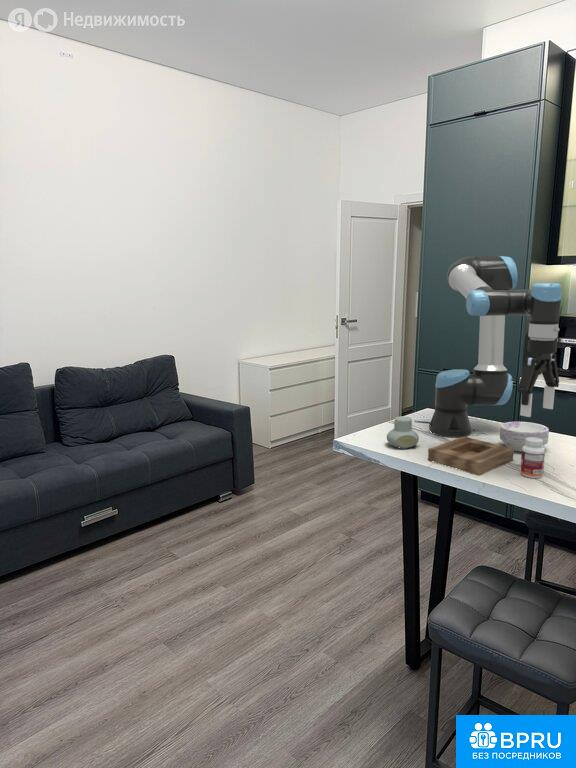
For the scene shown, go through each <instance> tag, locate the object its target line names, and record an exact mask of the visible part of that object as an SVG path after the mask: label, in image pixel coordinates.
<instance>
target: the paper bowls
mask: <svg viewBox="0 0 576 768" xmlns="http://www.w3.org/2000/svg"><path fill="white" fill-rule="evenodd" d="M549 433H550V429H549V427H547V426H545V425H543V424H540V423H535V422H530V421H529V422H527V421H508V422H503V423H501V424H500V425H499V439H500V440H501V442H503V443H504V444H505V447H510V448H514V452H519V453H522V447H523V446H524V445H526V443H525V440H526V438H528V437H535V438H540V439H542V440H543V445H542V446H545V445H547V444H548V442H549Z"/></svg>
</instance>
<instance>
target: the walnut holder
mask: <svg viewBox="0 0 576 768" xmlns="http://www.w3.org/2000/svg"><path fill="white" fill-rule="evenodd" d="M514 452H515V451H514V448H510V447H507V446H506V445H500V444H497V443H494V442H489V441H484V440H480V439H477V438H473V437H468V436H463V437H457V438H455V439H452V440H449V441H447V442H444V443H443V442H442V443H440V444H438V445H434V446H432V447H429V448H428V457H427V461H428V460H430V462H432V461H434V462H433V463H435V462H436V463H435V464H438V463H439V465H442V464H443V465H442V466H445V465H446V466H445V467H448V466H450V467H449V468H452V467H453V468H452V469H455V468H457V469H456V470H459V469H460V470H459V471H462V470H463V471H462V472H465V471H466V473H470V474H472V475H475V474H476V476H481V475H484V474H485V473H488V472H491V471H493V470H495V469H497V468H499V467H501V466H503V465H506V464H509V463H510V462H513V461H514V454H515V453H514Z"/></svg>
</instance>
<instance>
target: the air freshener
mask: <svg viewBox="0 0 576 768" xmlns="http://www.w3.org/2000/svg"><path fill="white" fill-rule="evenodd" d="M393 423H394V426H393V428H392V429H391V430H389V431H388V432H387V433H386V440H387V443H388V444H390V445H391V446H393V447H394V448H398V447H400V448H399V449H402V448H407V449H409V447H410V448H412V447H415V446H416V445H417V444H418V443H419V440H420V437H419V434H418V432H416V431H415V430H414V429H412V427H413V425H412V424H413V419H412V418H411V417H410V416H402V415H401V416H400V415H399V416H396V417H394V422H393Z"/></svg>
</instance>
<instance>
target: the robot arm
mask: <svg viewBox="0 0 576 768" xmlns="http://www.w3.org/2000/svg"><path fill="white" fill-rule="evenodd" d="M446 281H447V283H448V285H449V287H451V289H452V290H454V291H456V292H459V293H460V294H461V295H462V296H463V297H464V298H465V299H466V300H465V308H466V311H467V313H468V315H469V316H478V317H479V331H478V332H479V334H478V335H479V337H478V358H477V360H478V362H477V363H478V364H477V365H476V366H475V367H474V368H473V373H470V371H469V370H467V369H464V368H463V369H462V368H461V369H456V368H455V369H448V370H443V371H441V372H438V374H437V375H436V378H435V380H436V381H435V396H434V397H435V398H434V400H435V401H434V411H433V415H432V417H431V420H430V423H429V429H428V430H430V431H431V432H432V433H431V432H430V431H429V432H430V433H431V434H433V433H435V434H438V435H437V436H439V435H441V436H440V437H445V436H447V437H446V438H448V437H449V438H460V437H463V436H464V437H468V436H469V435H471V433H472V432H471V431H472V426H471V422H470V419H469V415H468V406H492V407H493V406H494V407H495V406H503V405H505V404H507V402H508V401H509V400H510V398H511V395H512V392H513V385H514V384H513V383H514V382H513V377H512V375H511V374H510V373H509V372H508V369H507V367H505V365H504V350H505V349H504V348H505V347H504V346H505V326H506V324H505V321H506V316H529V323H528V335H527V336H528V338H529V339H528V340H527V349H526V351H527V352H528V353H531V354H532V355H531V357H526V358H525V360H524V361H525V362H524V366H523V371H522V373H521V376H520V380H519V382H518V387H517V393H520V394H521V399H520V411H519V412H520V413H519V416H522V417H527V418H531V417H532V404H533V393H532V391H533V388H534V386H535V384H536V382H537V380H538V377H539V375H541V374H542V377H543V379H544V383H545V386H544V387H543V389H544V390H543V401H542V408H543V409H548V410H553V409H554V402H555V390H556V388H559V386H560V377H559V372H558V371H559V370H558V366H557V365H558V363H557V354H556V353H557V351H558V341H557V339H558V336H559V331H560V328H559V323H560V314H561V313H560V312H561V304H562V298H563V297H562V296H563V295H562V284H560V283H557V282H556V283H552V282H550V283H549V282H547V283H541V282H537V283H534V284H533V285H532V287H531V288H530V289H528V288H527V289H515V288H516V287H517V282H518V269H517V265H516V263H515V260H514V259H513V258H512V257H510V256H503V255H491V256H488V255H487V256H465V257H461V258H460V259H458V260H456V261H455V262H453V263H452V264H451V265H450V266H449V268H448V270H447V273H446ZM435 434H434V435H435Z"/></svg>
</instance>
